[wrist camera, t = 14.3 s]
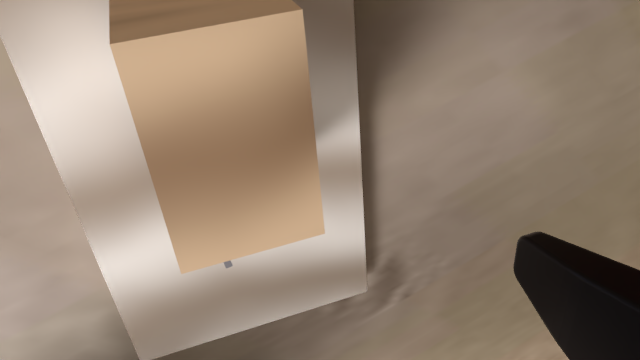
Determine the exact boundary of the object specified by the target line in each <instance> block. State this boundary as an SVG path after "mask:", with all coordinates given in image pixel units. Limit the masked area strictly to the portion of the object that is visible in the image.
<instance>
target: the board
mask: <svg viewBox="0 0 640 360" xmlns="http://www.w3.org/2000/svg"><path fill="white" fill-rule="evenodd" d="M292 1H293V2H295V3H296V4H297V5H298V6H299V7H300V8H302V9H303V18H304V28H305V38H306V48H307V58H308V68H309V78H310V88H311V98H312V108H313V118H314V129H315V139H316V149H317V159H318V169H319V179H320V189H321V199H322V209H323V219H324V229H325V234H322V235H318V236H315V237H311V238H307V239H304V240H300V241H297V242H293V243H290V244H286V245H283V246H279V247H276V248H272V249H269V250H265V251H262V252H258V253H254V254H251V255H247V256H244V257H240V258H237V259H233V260H230V261H226V262H223V263H219V264H216V265H212V266H209V267H205V268H201V269H198V270H194V271H191V272H187V273H184V274H181V272H180V268H179V265H178V262H177V259H176V256H175V252H174V249H173V246H172V243H171V240H170V236H169V233H168V230H167V227H166V224H165V220H164V217H163V214H162V211H161V207H160V204H159V201H158V198H157V195H156V191H155V188H154V185H153V182H152V179H151V175H150V172H149V169H148V166H147V163H146V159H145V156H144V153H143V150H142V147H141V143H140V140H139V137H138V134H137V131H136V127H135V124H134V121H133V118H132V115H131V111H130V108H129V105H128V102H127V99H126V95H125V92H124V89H123V86H122V82H121V79H120V76H119V73H118V70H117V66H116V63H115V60H114V57H113V54H112V50H111V47H110V38H109V0H0V37H1V39H2V41H3V44H4V46H5V48H6V51H7V53H8V55H9V57H10V60H11V62H12V64H13V67H14V69H15V71H16V74H17V76H18V78H19V81H20V83H21V85H22V88H23V90H24V92H25V95H26V97H27V99H28V102H29V104H30V106H31V109H32V111H33V113H34V116H35V118H36V120H37V123H38V125H39V127H40V130H41V132H42V134H43V137H44V139H45V141H46V144H47V146H48V148H49V151H50V153H51V155H52V158H53V160H54V162H55V165H56V167H57V169H58V172H59V174H60V176H61V179H62V181H63V183H64V185H65V188H66V190H67V192H68V195H69V197H70V199H71V202H72V204H73V206H74V209H75V211H76V213H77V216H78V218H79V220H80V223H81V225H82V227H83V230H84V232H85V234H86V237H87V239H88V241H89V244H90V246H91V248H92V251H93V253H94V255H95V258H96V260H97V262H98V265H99V267H100V269H101V272H102V274H103V276H104V279H105V281H106V283H107V286H108V288H109V290H110V293H111V295H112V297H113V300H114V302H115V304H116V307H117V309H118V311H119V313H120V316H121V318H122V320H123V323H124V325H125V327H126V330H127V332H128V334H129V337H130V339H131V341H132V344H133V346H134V348H135V351H136V353H137V355H138V358H139V360H153V359H156V358H159V357H162V356H165V355H169V354H172V353H175V352H178V351H181V350H184V349H188V348H191V347H194V346H197V345H200V344H203V343H206V342H210V341H213V340H216V339H219V338H222V337H225V336H229V335H232V334H235V333H238V332H241V331H244V330H247V329H251V328H254V327H257V326H260V325H263V324H266V323H270V322H273V321H276V320H279V319H282V318H285V317H288V316H292V315H295V314H298V313H301V312H304V311H307V310H311V309H314V308H317V307H320V306H323V305H326V304H330V303H333V302H336V301H339V300H342V299H345V298H348V297H352V296H355V295H358V294H361V293H364V292H367V271H366V250H365V229H364V208H363V187H362V166H361V145H360V124H359V103H358V82H357V61H356V40H355V19H354V0H292Z"/></svg>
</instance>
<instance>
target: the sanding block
mask: <svg viewBox="0 0 640 360" xmlns="http://www.w3.org/2000/svg"><path fill="white" fill-rule="evenodd" d="M109 38H110V47H111V50H112V54H113V57H114V60H115V63H116V66H117V70H118V73H119V76H120V79H121V82H122V86H123V89H124V92H125V95H126V99H127V102H128V105H129V108H130V111H131V115H132V118H133V121H134V124H135V127H136V131H137V134H138V137H139V140H140V143H141V147H142V150H143V153H144V156H145V159H146V163H147V166H148V169H149V172H150V175H151V179H152V182H153V185H154V188H155V191H156V195H157V198H158V201H159V204H160V207H161V211H162V214H163V217H164V220H165V224H166V227H167V230H168V233H169V236H170V240H171V243H172V246H173V249H174V252H175V256H176V259H177V262H178V265H179V268H180V272H181V274H184V273H187V272H191V271H194V270H198V269H201V268H205V267H209V266H212V265H216V264H219V263H223V262H226V261H230V260H233V259H237V258H240V257H244V256H247V255H251V254H254V253H258V252H262V251H265V250H269V249H272V248H276V247H279V246H283V245H286V244H290V243H293V242H297V241H300V240H304V239H307V238H311V237H315V236H318V235H322V234H325V229H324V219H323V209H322V199H321V189H320V179H319V169H318V159H317V149H316V139H315V129H314V118H313V108H312V98H311V88H310V78H309V68H308V58H307V48H306V38H305V28H304V18H303V9H302V8H300V7H299V6H298V5H297V4H296V3H295V2H293V1H292V0H109Z"/></svg>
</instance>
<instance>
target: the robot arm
mask: <svg viewBox="0 0 640 360" xmlns="http://www.w3.org/2000/svg"><path fill="white" fill-rule="evenodd" d="M514 273H515V276H516V278H517V280H518V282H519V283H520V285H521V287H522V288H523V290H524V291H525V293H526V295H527V296H528V298H529V300H530V301H531V303H532V304H533V306H534V308H535V309H536V311H537V312H538V314H539V316H540V317H541V319H542V320H543V322H544V324H545V325H546V327H547V328H548V330H549V332H550V333H551V335H552V336H553V338H554V339H555V341H556V342H557V344H558V345H559V346H560V348H561V349H562V350H563V352H564V353H565V354H566V356H567V357H568V358H569V360H640V270H637V269H635V268H632V267H630V266H627V265H625V264H622V263H620V262H617V261H614V260H612V259H609V258H607V257H604V256H602V255H599V254H597V253H594V252H591V251H589V250H586V249H584V248H581V247H579V246H576V245H574V244H571V243H568V242H566V241H563V240H561V239H558V238H556V237H553V236H551V235H548V234H545V233H543V232H533V233H530V234H527V235H524V236H522V237H520V238H519V240H518V242H517V248H516V254H515V260H514Z"/></svg>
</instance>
